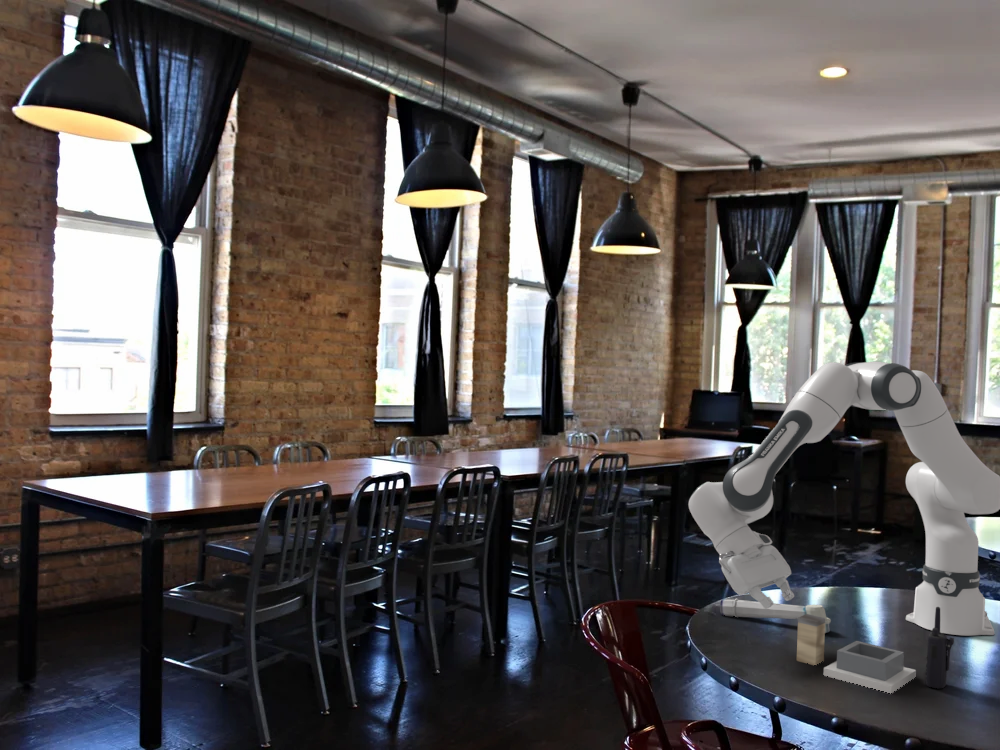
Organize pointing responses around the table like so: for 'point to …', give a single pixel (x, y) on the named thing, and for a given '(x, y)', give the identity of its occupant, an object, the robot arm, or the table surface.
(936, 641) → the two-way radio
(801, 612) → the white long handled device
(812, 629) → the light wood tall block
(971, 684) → the table surface
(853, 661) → the tool holder
